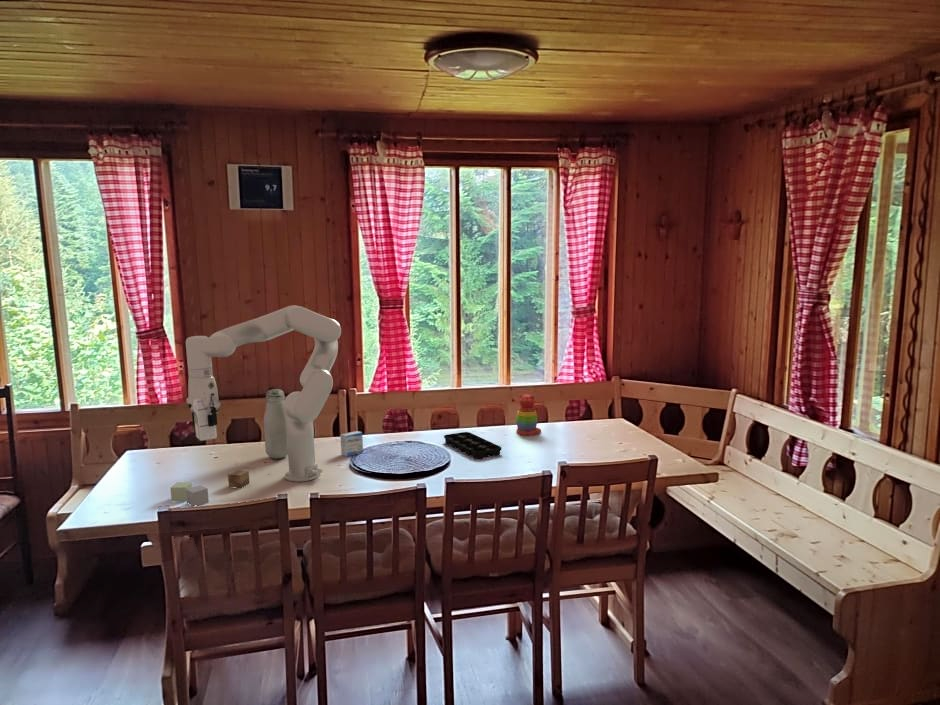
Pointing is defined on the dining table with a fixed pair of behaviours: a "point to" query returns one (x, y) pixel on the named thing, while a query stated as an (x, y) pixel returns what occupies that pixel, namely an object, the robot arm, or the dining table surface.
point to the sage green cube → (180, 491)
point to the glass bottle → (275, 425)
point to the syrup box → (202, 421)
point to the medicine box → (351, 443)
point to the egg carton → (472, 445)
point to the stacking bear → (527, 417)
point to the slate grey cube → (197, 495)
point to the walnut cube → (238, 478)
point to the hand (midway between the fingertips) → (205, 423)
